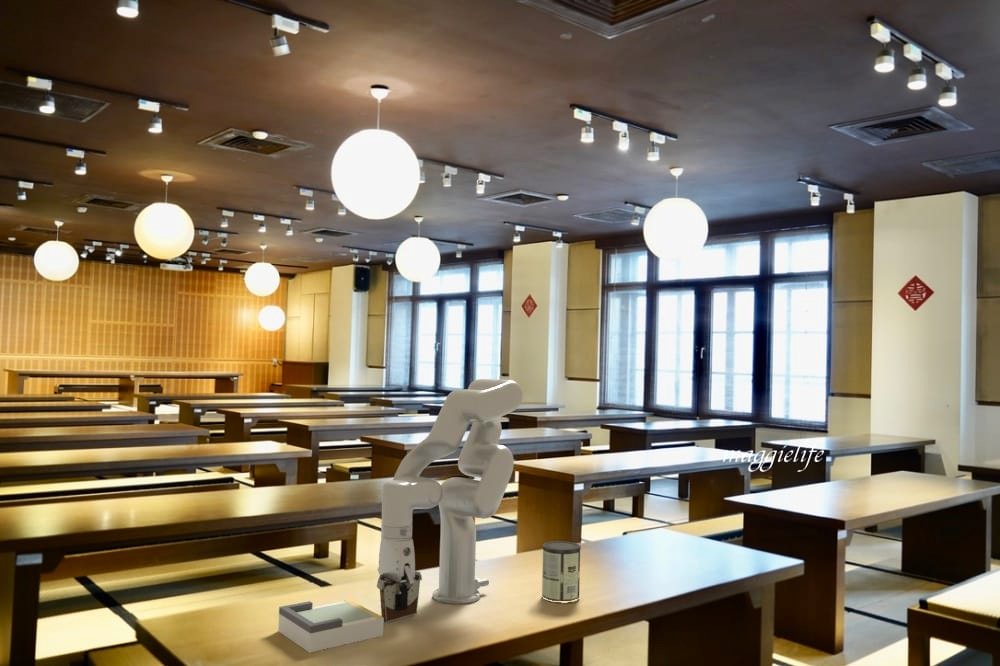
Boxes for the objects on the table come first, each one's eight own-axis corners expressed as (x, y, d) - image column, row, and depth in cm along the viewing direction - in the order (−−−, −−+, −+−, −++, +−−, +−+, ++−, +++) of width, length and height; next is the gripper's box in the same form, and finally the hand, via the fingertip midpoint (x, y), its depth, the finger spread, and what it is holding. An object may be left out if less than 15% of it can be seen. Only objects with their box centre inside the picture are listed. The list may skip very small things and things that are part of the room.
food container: (406, 606, 196) (406, 566, 197) (421, 612, 192) (422, 571, 192) (365, 617, 188) (366, 576, 188) (381, 624, 183) (381, 581, 184)
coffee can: (553, 590, 216) (554, 539, 216) (586, 597, 210) (587, 544, 210) (534, 598, 207) (535, 545, 208) (568, 606, 201) (569, 551, 202)
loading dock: (348, 616, 188) (349, 593, 188) (383, 635, 176) (383, 611, 176) (278, 631, 176) (279, 606, 177) (309, 652, 164) (310, 626, 164)
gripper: (429, 536, 186) (426, 612, 185) (391, 523, 199) (389, 595, 198) (402, 540, 181) (400, 619, 180) (365, 527, 194) (363, 600, 193)
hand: (394, 605), depth 189 cm, fingers closed on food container, 5 cm apart
